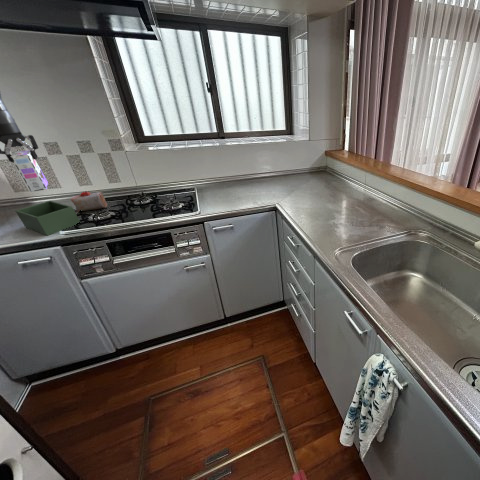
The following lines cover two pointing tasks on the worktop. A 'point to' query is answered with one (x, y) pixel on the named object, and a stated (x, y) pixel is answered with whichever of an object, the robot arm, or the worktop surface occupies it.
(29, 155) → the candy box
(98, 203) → the food item
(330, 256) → the worktop surface
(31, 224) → the bin
